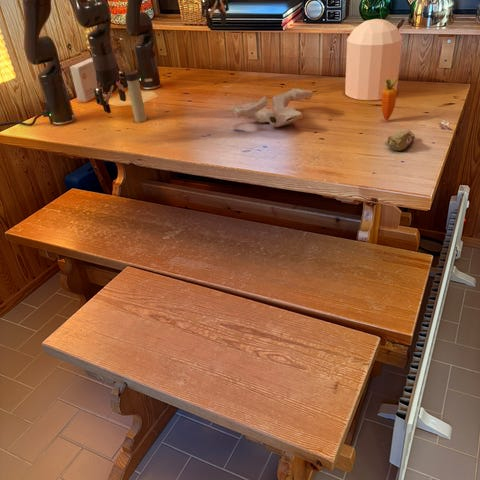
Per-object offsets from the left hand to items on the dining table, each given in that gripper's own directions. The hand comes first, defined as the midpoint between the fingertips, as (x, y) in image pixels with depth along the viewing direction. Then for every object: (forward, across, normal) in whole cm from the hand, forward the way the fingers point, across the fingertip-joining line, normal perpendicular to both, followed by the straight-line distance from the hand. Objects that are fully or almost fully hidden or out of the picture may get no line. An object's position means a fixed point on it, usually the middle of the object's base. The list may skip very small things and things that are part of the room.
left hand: (115, 106), depth 166 cm
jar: (+16, -16, -4) cm, 23 cm away
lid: (-1, -19, -7) cm, 20 cm away
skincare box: (+28, -35, -48) cm, 66 cm away
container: (+13, -72, +74) cm, 104 cm away
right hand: (-9, -54, +11) cm, 56 cm away
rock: (-1, -24, +97) cm, 100 cm away
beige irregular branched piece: (+9, -28, +52) cm, 60 cm away
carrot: (+5, -43, +87) cm, 97 cm away
